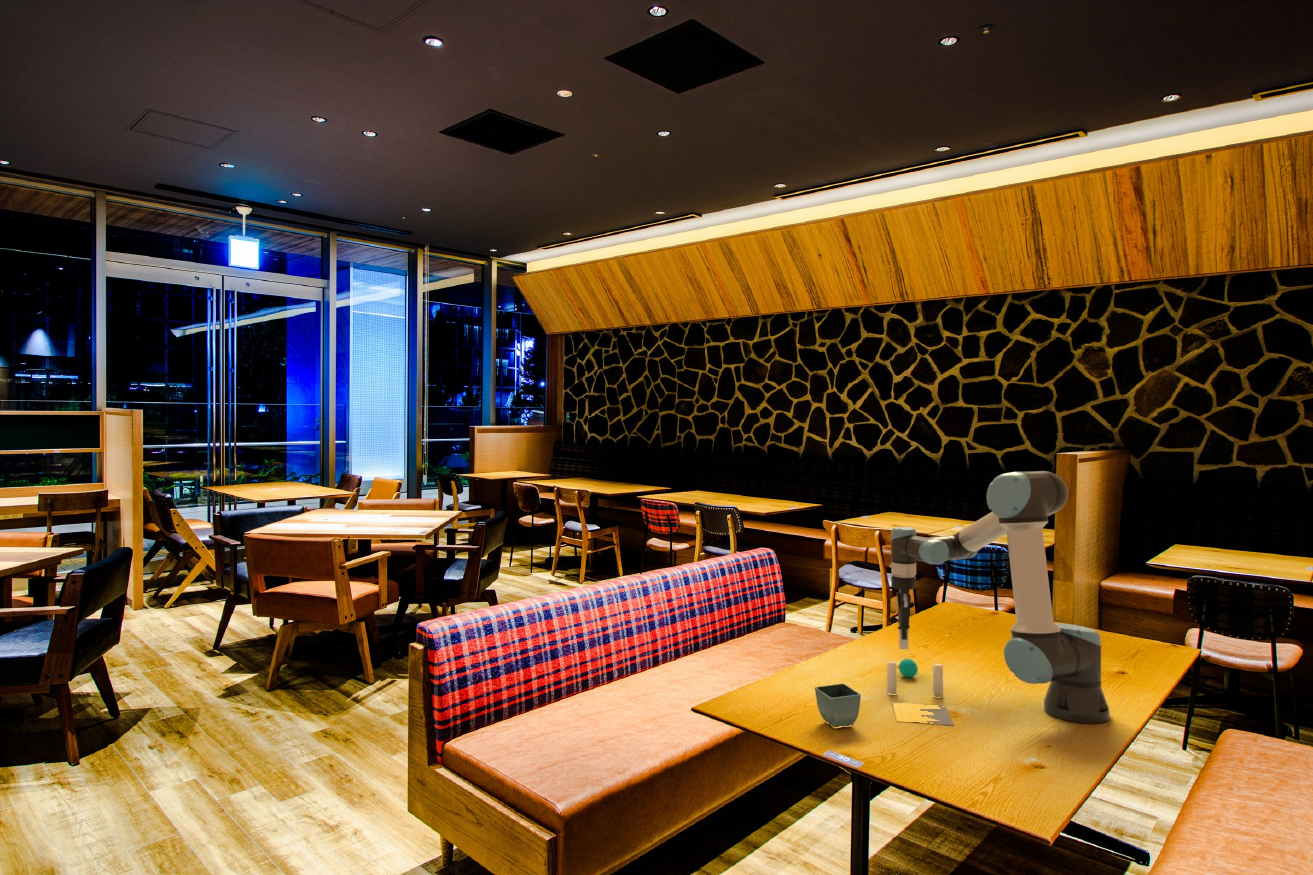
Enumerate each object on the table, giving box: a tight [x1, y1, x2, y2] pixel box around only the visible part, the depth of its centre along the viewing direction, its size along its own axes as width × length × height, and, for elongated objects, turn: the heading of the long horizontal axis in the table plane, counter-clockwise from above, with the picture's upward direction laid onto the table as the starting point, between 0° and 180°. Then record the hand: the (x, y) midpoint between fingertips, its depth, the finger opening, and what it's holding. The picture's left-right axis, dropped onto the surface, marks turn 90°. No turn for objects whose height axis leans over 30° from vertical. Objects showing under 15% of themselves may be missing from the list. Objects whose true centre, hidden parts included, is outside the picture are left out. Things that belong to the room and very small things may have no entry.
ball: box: [898, 658, 918, 678], centre depth 222 cm, size 6×6×6 cm
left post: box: [886, 660, 898, 694], centre depth 208 cm, size 3×3×9 cm
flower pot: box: [814, 683, 862, 727], centre depth 186 cm, size 9×9×9 cm
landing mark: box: [920, 704, 955, 727], centre depth 193 cm, size 14×14×1 cm
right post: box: [932, 663, 944, 698], centre depth 205 cm, size 3×3×9 cm
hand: (903, 648), depth 232 cm, fingers closed
